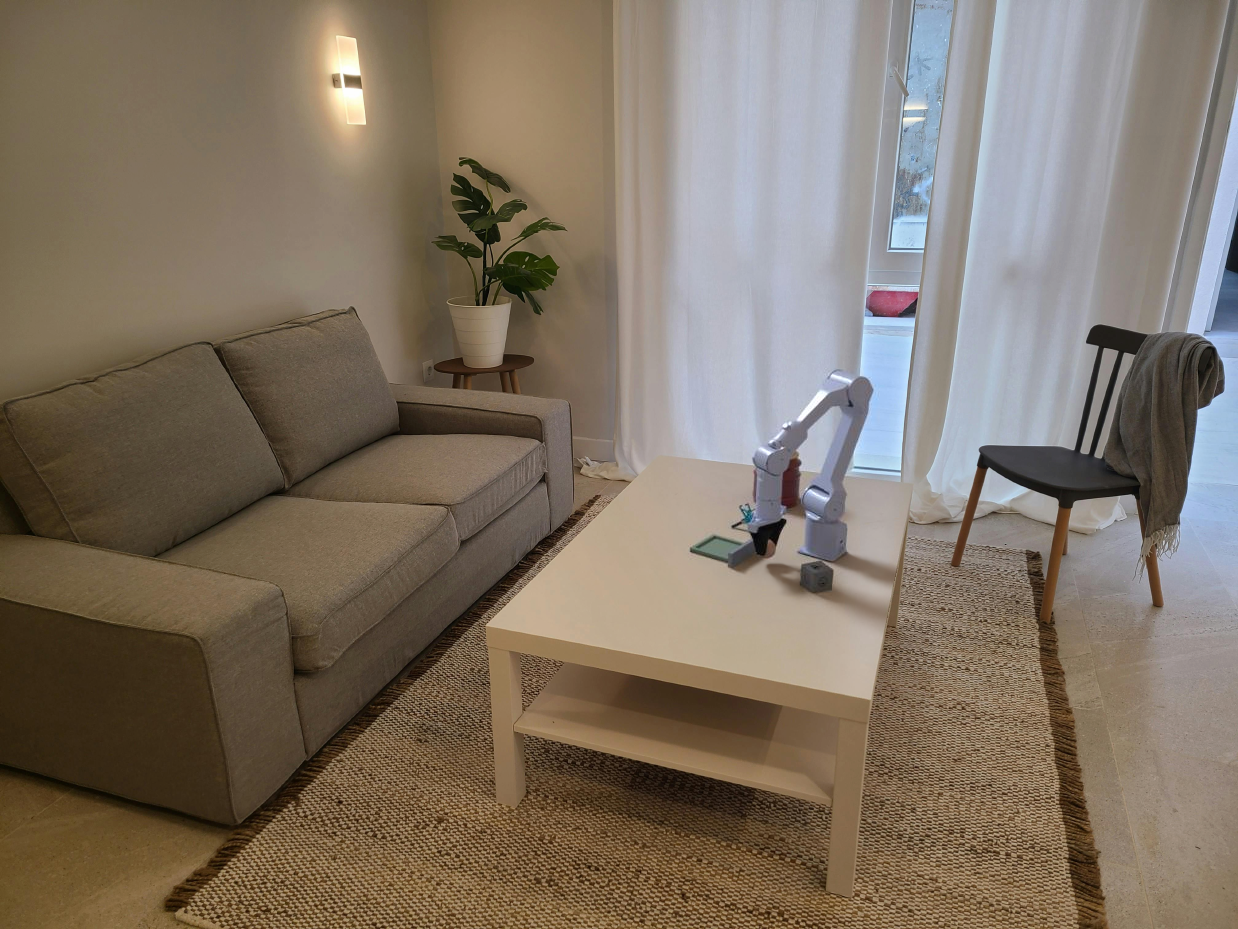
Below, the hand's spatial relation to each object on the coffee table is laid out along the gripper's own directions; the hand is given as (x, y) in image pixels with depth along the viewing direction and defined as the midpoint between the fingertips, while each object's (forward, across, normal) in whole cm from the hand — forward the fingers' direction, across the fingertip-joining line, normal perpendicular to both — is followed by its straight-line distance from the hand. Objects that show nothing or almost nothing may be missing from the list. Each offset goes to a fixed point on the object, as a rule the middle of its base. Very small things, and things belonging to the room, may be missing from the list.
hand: (766, 551), depth 202 cm
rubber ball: (-1, 0, 0) cm, 1 cm away
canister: (+3, -38, -18) cm, 42 cm away
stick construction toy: (+3, -17, -15) cm, 23 cm away
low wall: (+3, 0, -6) cm, 6 cm away
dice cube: (+3, +4, +15) cm, 16 cm away
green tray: (+3, 0, -12) cm, 13 cm away
